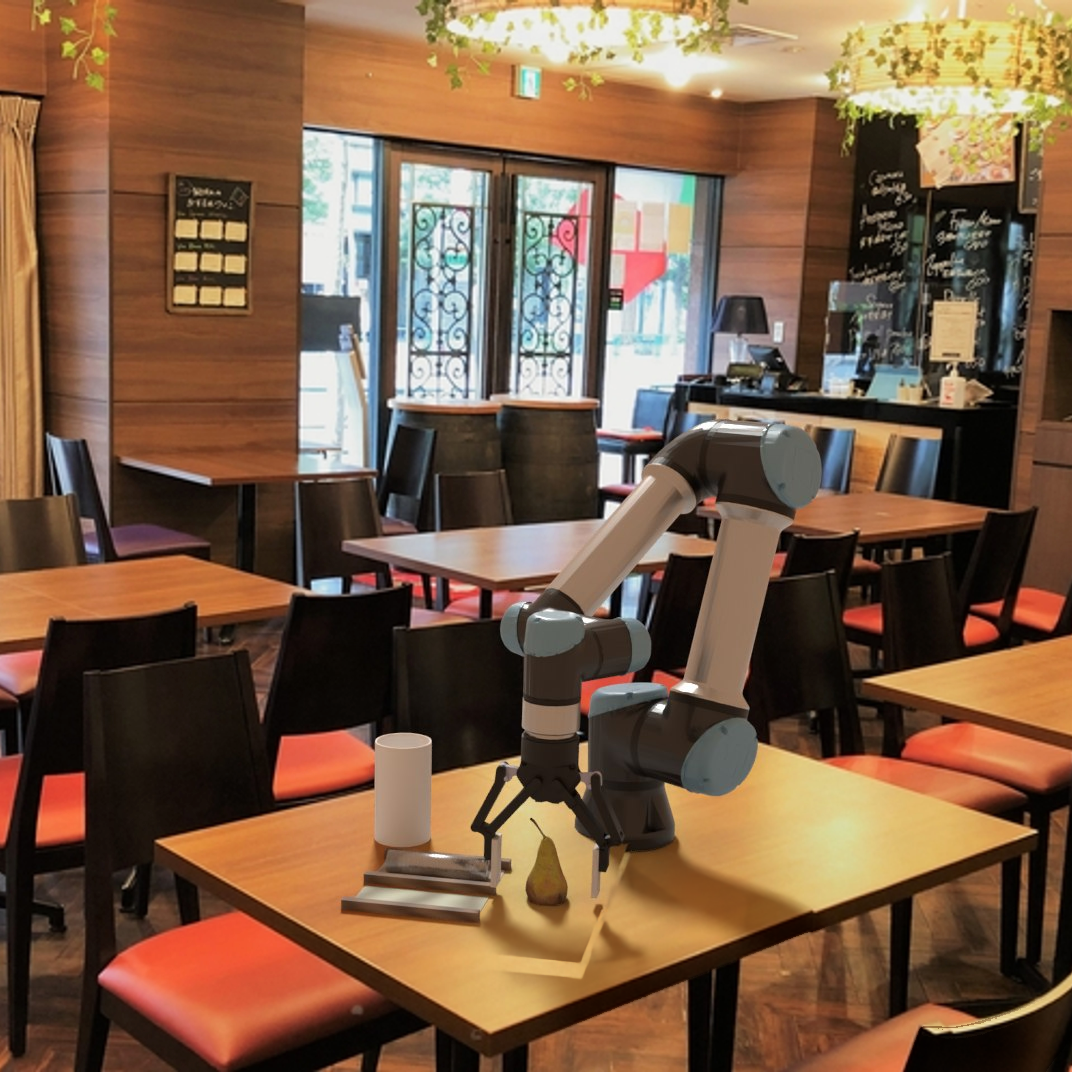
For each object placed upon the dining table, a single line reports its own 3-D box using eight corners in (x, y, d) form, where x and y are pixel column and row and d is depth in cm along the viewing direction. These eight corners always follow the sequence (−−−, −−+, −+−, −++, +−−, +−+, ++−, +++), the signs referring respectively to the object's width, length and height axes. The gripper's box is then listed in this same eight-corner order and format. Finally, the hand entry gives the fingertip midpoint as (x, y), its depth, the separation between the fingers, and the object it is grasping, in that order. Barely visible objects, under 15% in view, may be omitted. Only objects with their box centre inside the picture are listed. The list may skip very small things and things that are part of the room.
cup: (421, 858, 215) (422, 750, 213) (367, 853, 217) (367, 745, 214) (436, 839, 223) (438, 735, 221) (384, 834, 225) (384, 731, 222)
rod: (491, 869, 205) (489, 854, 204) (486, 885, 203) (484, 870, 201) (392, 860, 208) (390, 845, 206) (387, 876, 205) (384, 861, 204)
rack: (510, 876, 209) (511, 858, 208) (477, 932, 189) (477, 913, 189) (386, 865, 212) (386, 847, 212) (341, 919, 193) (341, 899, 192)
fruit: (536, 919, 194) (537, 830, 192) (518, 903, 199) (520, 816, 197) (575, 913, 196) (577, 825, 194) (557, 898, 201) (559, 811, 200)
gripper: (649, 732, 196) (642, 888, 198) (464, 716, 200) (460, 869, 203) (642, 747, 188) (634, 909, 191) (450, 730, 193) (446, 889, 196)
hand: (545, 889), depth 197 cm, fingers open, 13 cm apart
